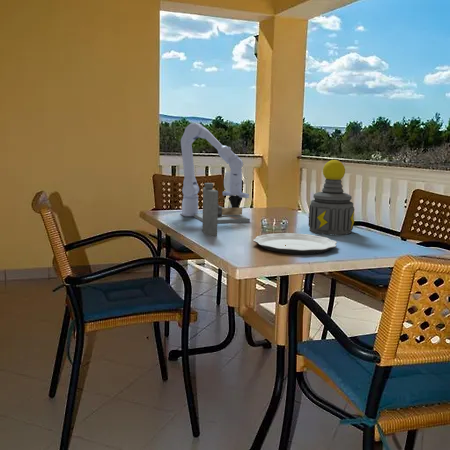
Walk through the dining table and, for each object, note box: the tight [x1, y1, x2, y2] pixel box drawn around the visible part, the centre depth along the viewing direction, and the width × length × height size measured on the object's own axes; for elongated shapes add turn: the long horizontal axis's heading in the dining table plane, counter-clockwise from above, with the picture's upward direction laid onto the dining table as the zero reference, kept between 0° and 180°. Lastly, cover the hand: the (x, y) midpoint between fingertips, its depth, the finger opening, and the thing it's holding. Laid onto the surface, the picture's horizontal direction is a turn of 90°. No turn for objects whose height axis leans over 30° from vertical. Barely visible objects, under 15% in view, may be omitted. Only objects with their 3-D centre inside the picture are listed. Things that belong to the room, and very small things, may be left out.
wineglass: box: [223, 170, 232, 208], centre depth 260 cm, size 9×9×21 cm
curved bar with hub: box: [218, 204, 243, 216], centre depth 243 cm, size 19×5×5 cm, turn 108°
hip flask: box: [201, 182, 219, 237], centre depth 207 cm, size 16×4×20 cm, turn 14°
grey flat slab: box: [193, 212, 251, 224], centre depth 243 cm, size 20×22×2 cm
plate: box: [252, 232, 338, 255], centre depth 186 cm, size 29×29×2 cm
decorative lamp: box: [307, 159, 355, 236], centre depth 216 cm, size 19×19×30 cm
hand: (235, 211), depth 248 cm, fingers closed
